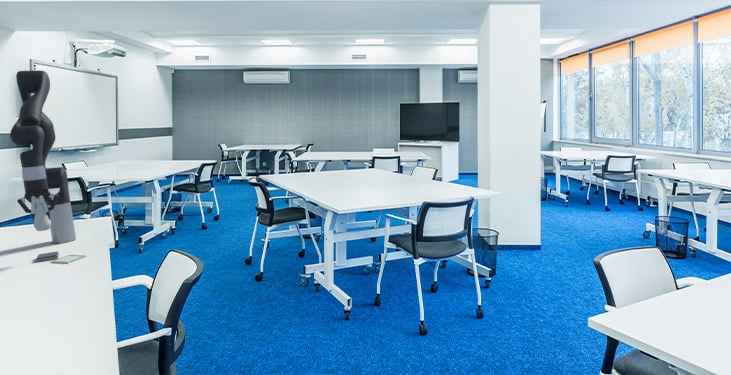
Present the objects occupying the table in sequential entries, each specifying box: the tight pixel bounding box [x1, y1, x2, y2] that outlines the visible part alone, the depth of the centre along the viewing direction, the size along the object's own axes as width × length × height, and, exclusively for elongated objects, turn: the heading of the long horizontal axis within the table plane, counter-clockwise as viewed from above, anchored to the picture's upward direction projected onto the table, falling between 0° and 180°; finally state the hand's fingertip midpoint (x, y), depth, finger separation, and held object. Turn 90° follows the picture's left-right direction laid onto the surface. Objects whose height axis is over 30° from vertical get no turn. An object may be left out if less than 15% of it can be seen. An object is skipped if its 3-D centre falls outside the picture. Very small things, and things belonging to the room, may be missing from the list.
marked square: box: [50, 254, 87, 264], centre depth 191 cm, size 8×8×1 cm
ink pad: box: [35, 251, 60, 263], centre depth 194 cm, size 7×7×2 cm
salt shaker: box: [33, 197, 51, 232], centre depth 191 cm, size 6×6×13 cm
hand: (42, 221), depth 192 cm, fingers closed on salt shaker, 3 cm apart
